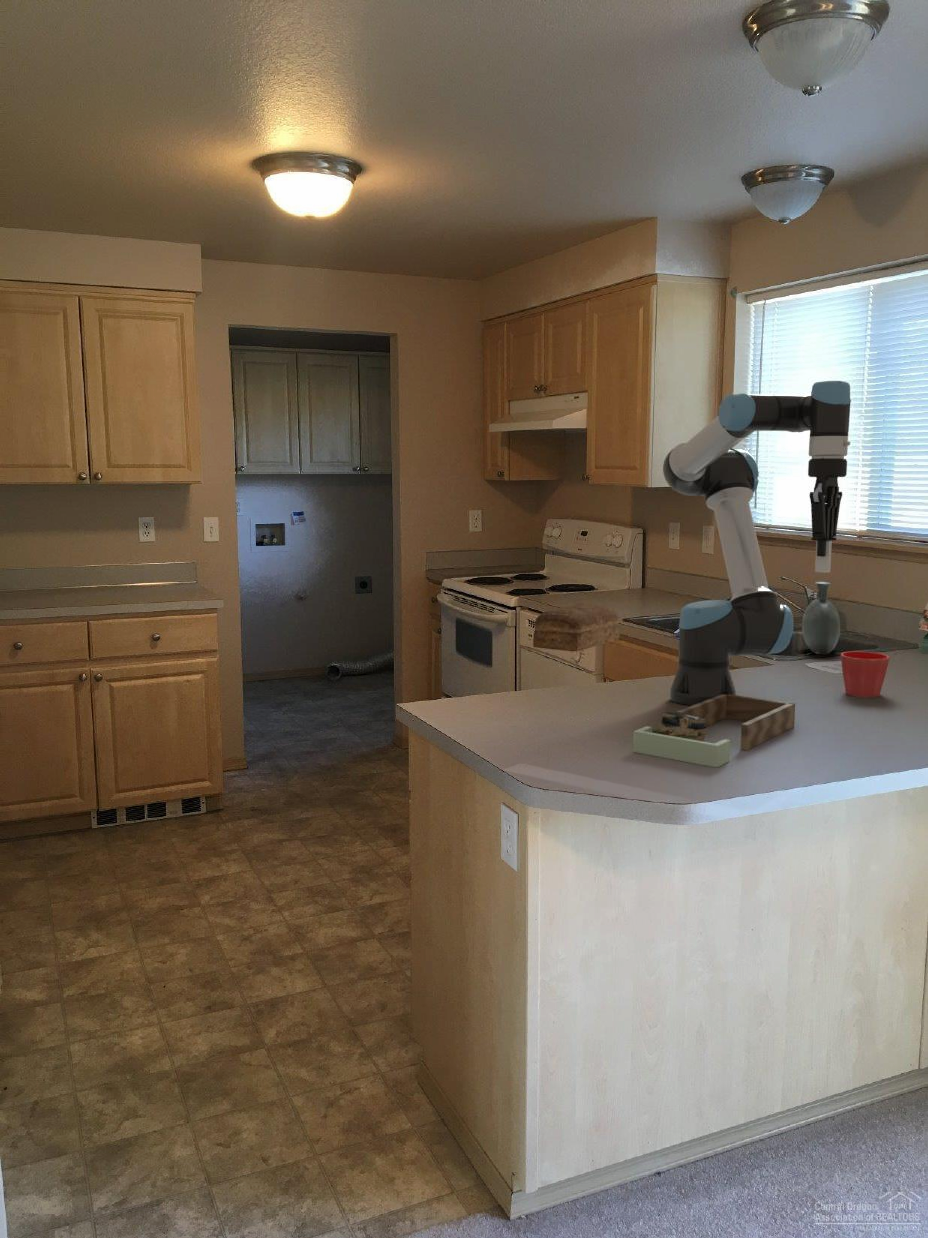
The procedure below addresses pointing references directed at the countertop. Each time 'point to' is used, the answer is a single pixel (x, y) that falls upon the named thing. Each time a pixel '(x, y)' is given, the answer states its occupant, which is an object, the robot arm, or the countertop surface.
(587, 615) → the bread
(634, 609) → the countertop surface
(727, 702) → the cubby
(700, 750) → the bracket
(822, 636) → the flask
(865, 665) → the flower pot
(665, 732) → the rock
